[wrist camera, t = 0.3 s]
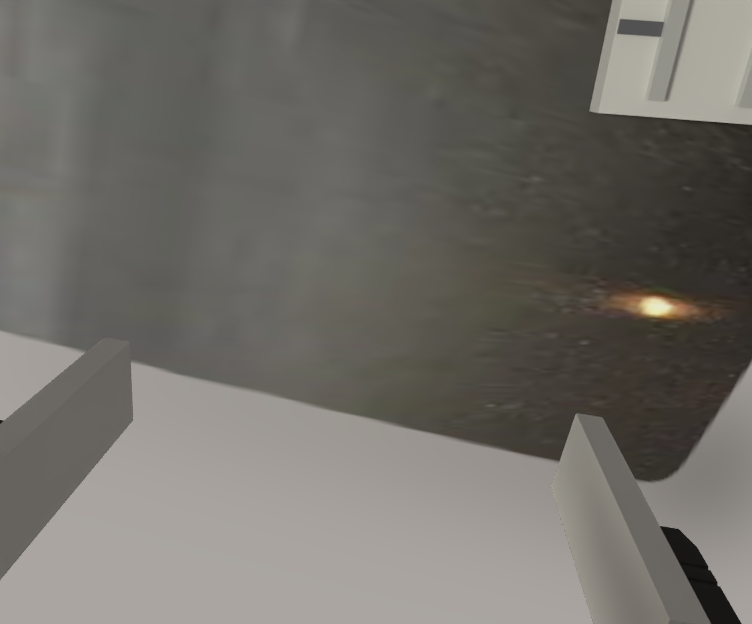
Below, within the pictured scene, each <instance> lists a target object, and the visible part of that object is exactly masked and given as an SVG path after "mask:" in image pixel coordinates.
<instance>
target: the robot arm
mask: <svg viewBox="0 0 752 624" xmlns="http://www.w3.org/2000/svg"><path fill="white" fill-rule="evenodd" d="M132 421H133V407H132V383H131V359H130V342H129V341H123V340H117V339H110V338H103V339H102V340H100V341H99V342H98V343H97V344H96V345H94V346H93V347H92V348H91V349H90V350H88V351H87V352H86V353H85V354H84V355H82V356H81V357H80V358H79V359H78V360H76V361H75V362H74V363H73V364H72V365H70V366H69V367H68V368H67V369H66V370H64V371H63V372H62V373H61V374H60V375H58V376H57V377H56V378H55V379H54V380H52V381H51V382H50V383H49V384H48V385H46V386H45V387H44V388H43V389H42V390H41V391H39V392H38V393H37V394H36V395H34V396H33V397H32V398H31V399H30V400H28V401H27V402H26V403H25V404H24V405H22V406H21V407H20V408H19V409H18V410H17V411H15V412H14V413H13V414H12V415H11V416H9V417H8V418H7V419H6V420H5V421H2V420H0V579H1V578H2V577H3V576H4V575H5V574H6V572H7V571H8V570H9V569H10V568H11V566H12V565H13V564H14V563H15V562H16V560H17V559H18V558H19V557H20V556H21V554H22V553H23V552H24V550H26V548H27V547H28V546H29V545H30V543H31V542H32V541H33V540H34V539H35V537H36V536H37V535H38V534H39V533H40V531H41V530H42V529H43V528H44V527H45V525H46V524H47V523H48V522H49V521H50V519H51V518H52V517H53V516H54V515H55V513H56V512H57V511H58V510H59V509H60V507H61V506H62V505H63V504H64V503H65V501H66V500H67V499H68V498H69V496H70V495H71V494H72V493H73V492H74V490H75V489H76V488H77V487H78V486H79V484H80V483H81V482H82V481H83V480H84V478H85V477H86V476H87V475H88V474H89V472H90V471H91V470H92V469H93V468H94V466H95V465H96V464H97V463H98V462H99V460H100V459H101V458H102V457H103V455H104V454H105V453H106V452H107V451H108V450H109V448H110V447H111V446H112V445H113V443H114V442H115V441H116V440H117V439H118V438H119V436H120V435H121V434H122V433H123V431H124V430H125V429H126V428H127V427H128V425H129V424H130V423H131V422H132ZM551 490H552V493H553V496H554V499H555V503H556V506H557V509H558V512H559V515H560V519H561V521H562V525H563V528H564V531H565V535H566V538H567V541H568V544H569V547H570V550H571V554H572V557H573V560H574V563H575V566H576V570H577V572H578V576H579V579H580V582H581V585H582V589H583V592H584V595H585V598H586V602H587V605H588V608H589V611H590V614H591V618H592V621H593V624H741V622H740V620H739V619H738V617H737V615H736V614H735V612H734V610H733V608H732V607H731V605H730V603H729V601H728V600H727V598H726V596H725V595H724V593H723V591H722V589H721V588H720V587H719V586H717V581H716V579H715V577H714V576H713V574H712V572H711V571H710V570H708V565H707V564H706V562H705V560H704V559H703V557H702V555H701V554H700V552H699V550H698V548H697V547H696V546H695V545H694V544H693V543H692V542H691V541H690V540H689V539H688V538H687V537H686V536H685V535H684V534H683V533H682V532H681V531H680V530H679V529H674V528H669V527H662V526H659V524H658V522H657V520H656V518H655V516H654V515H653V513H652V511H651V509H650V507H649V505H648V503H647V501H646V499H645V497H644V496H643V494H642V492H641V490H640V488H639V486H638V484H637V482H636V480H635V478H634V477H633V475H632V473H631V471H630V469H629V467H628V465H627V463H626V461H625V459H624V458H623V456H622V454H621V452H620V450H619V448H618V446H617V444H616V442H615V440H614V439H613V437H612V435H611V433H610V431H609V429H608V427H607V425H606V423H605V421H604V420H603V418H602V417H596V416H590V415H584V414H578V413H576V415H575V418H574V421H573V424H572V427H571V430H570V433H569V436H568V439H567V442H566V445H565V447H564V450H563V453H562V456H561V459H560V462H559V465H558V468H557V471H556V474H555V477H554V480H553V483H552V487H551Z"/></svg>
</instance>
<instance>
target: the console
mask: <svg viewBox="0 0 752 624" xmlns="http://www.w3.org/2000/svg"><path fill="white" fill-rule="evenodd" d="M590 111H592V112H596V113H606V114H619V115H632V116H645V117H658V118H671V119H684V120H697V121H710V122H723V123H736V124H749V125H752V0H612V5H611V10H610V15H609V20H608V24H607V29H606V34H605V39H604V44H603V48H602V53H601V58H600V63H599V68H598V73H597V77H596V82H595V87H594V92H593V97H592V101H591V106H590Z"/></svg>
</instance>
